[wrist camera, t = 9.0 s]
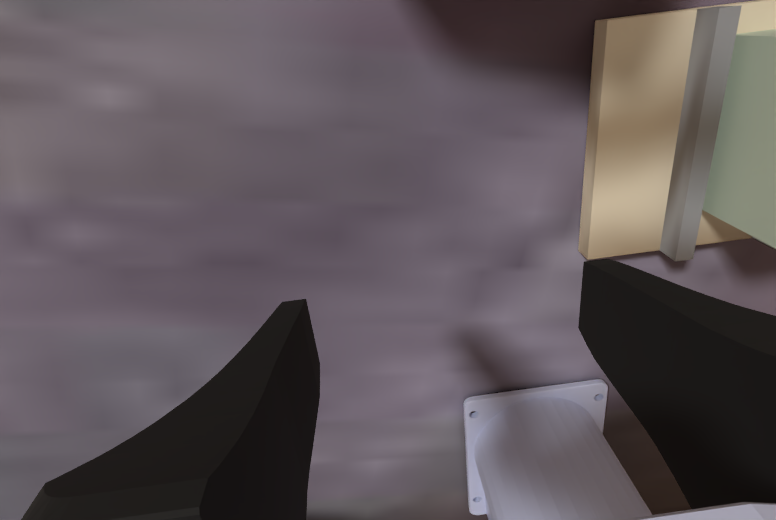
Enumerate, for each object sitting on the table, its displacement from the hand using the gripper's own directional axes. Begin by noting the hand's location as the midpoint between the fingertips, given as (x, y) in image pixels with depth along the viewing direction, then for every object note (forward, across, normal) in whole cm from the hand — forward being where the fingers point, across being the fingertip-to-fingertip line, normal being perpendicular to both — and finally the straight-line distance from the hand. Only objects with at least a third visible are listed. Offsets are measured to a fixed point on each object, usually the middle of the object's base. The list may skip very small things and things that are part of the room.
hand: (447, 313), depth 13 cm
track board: (+10, -14, -1) cm, 17 cm away
